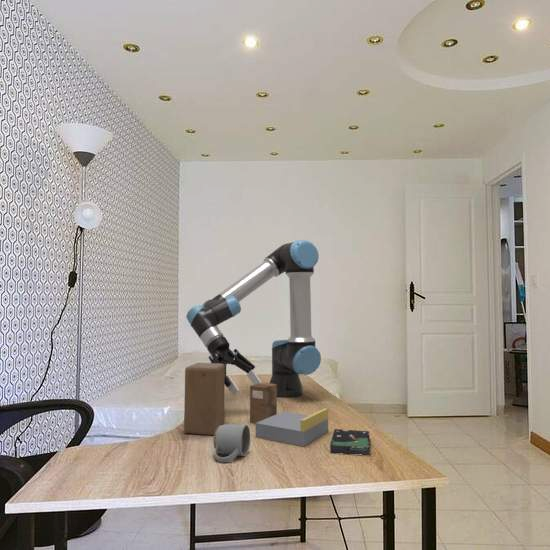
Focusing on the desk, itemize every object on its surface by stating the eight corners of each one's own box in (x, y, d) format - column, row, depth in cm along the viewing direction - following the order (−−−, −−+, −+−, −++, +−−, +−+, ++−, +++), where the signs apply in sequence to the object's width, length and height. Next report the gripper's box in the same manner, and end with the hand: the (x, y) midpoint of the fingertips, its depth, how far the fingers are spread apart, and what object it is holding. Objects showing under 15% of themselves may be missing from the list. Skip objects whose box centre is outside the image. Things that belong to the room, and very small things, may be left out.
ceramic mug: (222, 447, 119) (222, 419, 119) (250, 450, 117) (250, 421, 117) (206, 462, 108) (206, 431, 109) (238, 465, 106) (238, 433, 107)
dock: (283, 423, 142) (283, 402, 142) (328, 431, 133) (328, 408, 134) (255, 436, 128) (255, 412, 129) (303, 446, 120) (303, 420, 120)
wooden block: (214, 436, 129) (215, 367, 130) (182, 434, 131) (183, 366, 132) (225, 426, 138) (225, 363, 140) (195, 424, 140) (196, 362, 142)
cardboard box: (261, 417, 149) (262, 382, 150) (276, 420, 146) (276, 384, 147) (249, 422, 143) (250, 385, 144) (265, 425, 140) (265, 387, 141)
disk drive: (333, 438, 129) (330, 455, 115) (333, 428, 129) (330, 444, 115) (369, 440, 127) (370, 457, 113) (369, 430, 127) (370, 446, 113)
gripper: (230, 346, 167) (262, 390, 159) (185, 352, 146) (218, 404, 137) (242, 333, 165) (275, 377, 156) (197, 337, 144) (232, 389, 135)
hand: (248, 390), depth 147 cm, fingers open, 13 cm apart
